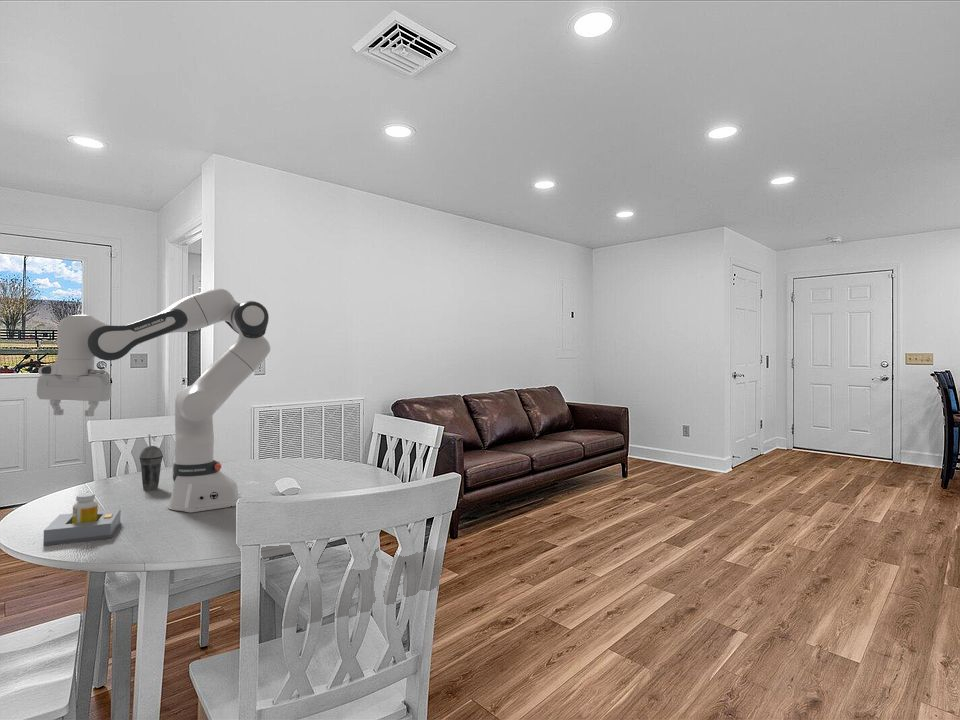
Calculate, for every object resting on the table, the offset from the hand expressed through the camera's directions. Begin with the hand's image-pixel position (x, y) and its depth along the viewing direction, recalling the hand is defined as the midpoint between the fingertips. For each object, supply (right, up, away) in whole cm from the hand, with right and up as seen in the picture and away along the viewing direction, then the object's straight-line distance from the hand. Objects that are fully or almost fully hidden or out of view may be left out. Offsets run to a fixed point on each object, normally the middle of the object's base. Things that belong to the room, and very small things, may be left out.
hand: (73, 415), depth 150 cm
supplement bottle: (+13, -30, -12) cm, 35 cm away
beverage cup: (0, -31, +34) cm, 46 cm away
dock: (+13, -31, -12) cm, 35 cm away
